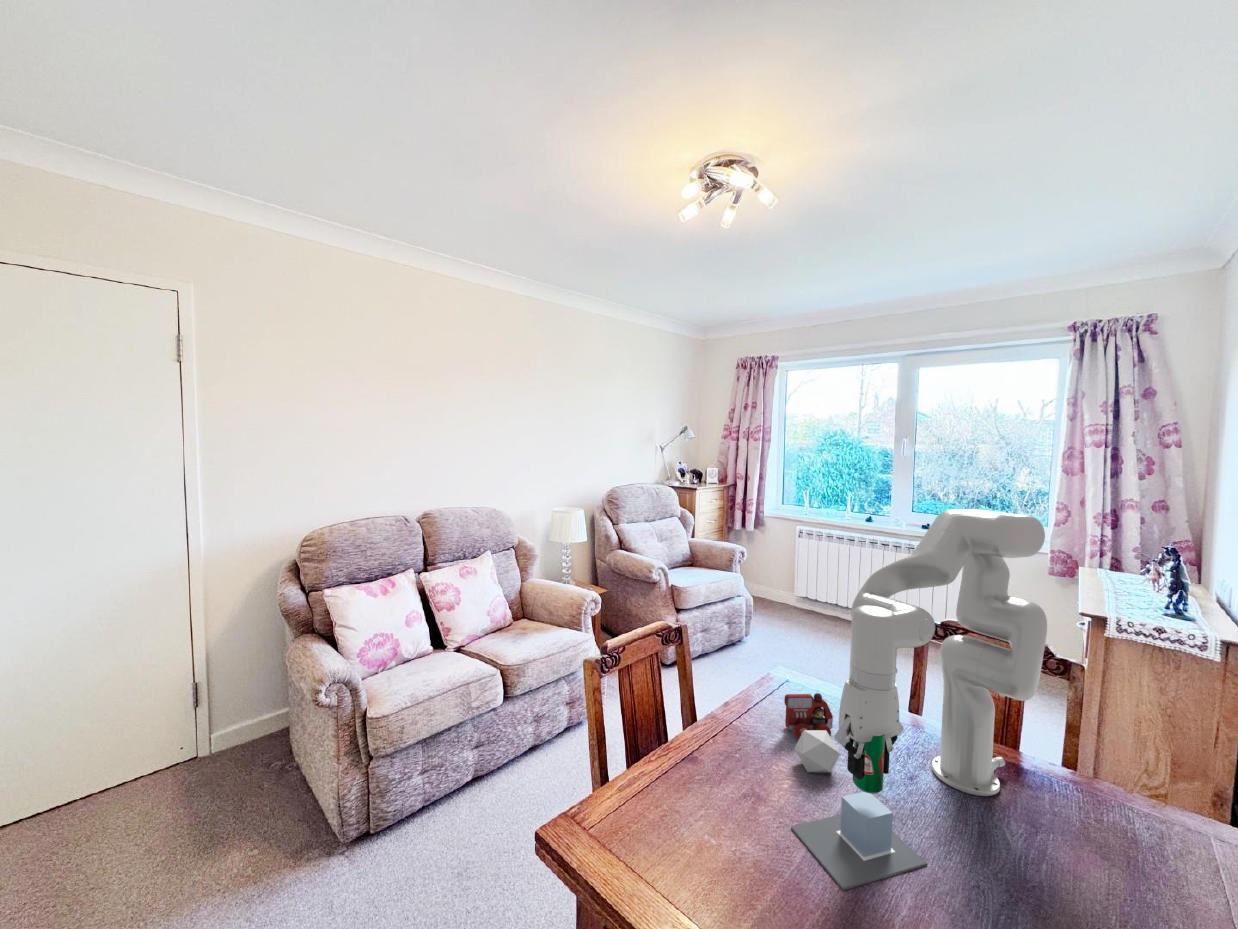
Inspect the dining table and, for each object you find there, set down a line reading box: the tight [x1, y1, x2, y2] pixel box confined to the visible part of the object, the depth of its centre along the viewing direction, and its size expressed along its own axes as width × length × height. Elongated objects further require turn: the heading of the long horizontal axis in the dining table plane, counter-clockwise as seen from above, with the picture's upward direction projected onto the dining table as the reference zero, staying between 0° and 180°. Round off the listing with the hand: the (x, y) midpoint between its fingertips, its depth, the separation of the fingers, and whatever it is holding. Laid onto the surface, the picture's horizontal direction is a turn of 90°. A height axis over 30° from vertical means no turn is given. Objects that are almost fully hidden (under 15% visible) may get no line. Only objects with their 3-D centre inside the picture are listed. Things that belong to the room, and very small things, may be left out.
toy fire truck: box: [784, 692, 834, 741], centre depth 129 cm, size 7×12×10 cm, turn 94°
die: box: [794, 730, 841, 773], centre depth 116 cm, size 8×9×10 cm
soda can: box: [852, 732, 885, 795], centre depth 93 cm, size 5×5×12 cm
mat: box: [790, 813, 928, 891], centre depth 94 cm, size 18×14×1 cm
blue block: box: [840, 791, 894, 857], centre depth 94 cm, size 6×6×7 cm
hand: (867, 771), depth 94 cm, fingers closed on soda can, 5 cm apart
